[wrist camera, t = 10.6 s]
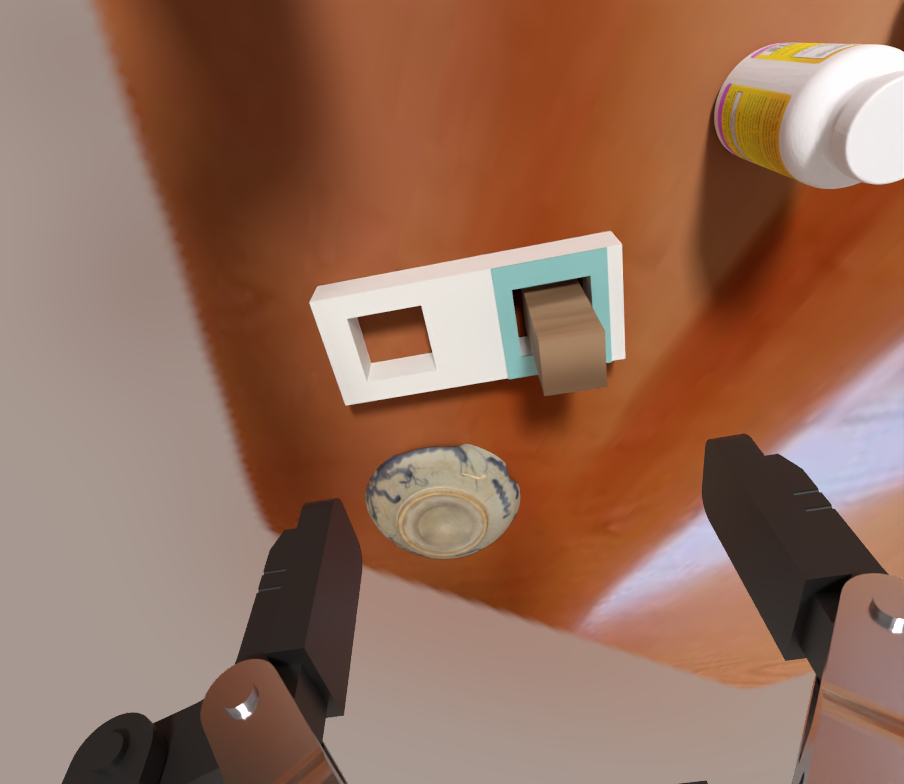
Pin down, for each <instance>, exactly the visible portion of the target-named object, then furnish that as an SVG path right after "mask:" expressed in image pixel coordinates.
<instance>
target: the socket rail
mask: <svg viewBox="0 0 904 784" xmlns="http://www.w3.org/2000/svg"><path fill="white" fill-rule="evenodd" d="M580 277H582V280H583V291H584V293H585V295H586V296H587V298H588V300H589V302H590V304H591V306H592V308H593V309H594V311H595V313H596V315H597V317H598V319H599V321H600V322H601V324H602V326H603V328H604V330H605V340H606V363H610V362H612V361H613V360H619V359H625V333H624V298H623V264H622V244H621V242H620V241H619V240H618V239H617V238H616V236H615V235H614V234H613V233H612V232H611V231H608V232H602V233H597V234H592V235H586V236H581V237H576V238H570V239H565V240H560V241H555V242H549V243H544V244H539V245H533V246H528V247H523V248H518V249H512V250H507V251H502V252H496V253H491V254H486V255H480V256H475V257H470V258H465V259H459V260H454V261H449V262H443V263H438V264H433V265H427V266H422V267H417V268H412V269H406V270H401V271H396V272H390V273H385V274H380V275H375V276H369V277H364V278H359V279H353V280H348V281H343V282H337V283H332V284H327V285H322V286H317V288H316V290H315V292H314V294H313V296H312V298H311V300H310V302H309V303H310V306H311V309H312V312H313V314H314V317H315V320H316V323H317V326H318V329H319V331H320V334H321V337H322V340H323V343H324V346H325V349H326V351H327V354H328V357H329V360H330V363H331V366H332V368H333V371H334V374H335V377H336V380H337V383H338V385H339V388H340V391H341V394H342V397H343V400H344V402H345V405H352V404H358V403H364V402H370V401H376V400H382V399H388V398H394V397H400V396H405V395H411V394H417V393H423V392H429V391H435V390H441V389H447V388H453V387H459V386H465V385H471V384H477V383H483V382H489V381H495V380H501V379H506V378H508V379H515V378H521V377H527V376H533V375H538V372H537V368H536V364H535V361H534V357H533V354H532V350H531V346H530V343H529V339H528V336H525V337H518V330H517V323H516V316H515V309H514V302H513V295H512V290H514V289H520V288H525V287H531V286H536V285H542V284H547V283H553V282H558V281H564V280H569V279H575V278H580ZM420 305H421V306H422V311H423V315H424V319H425V323H426V327H427V332H428V336H429V340H430V344H431V348H432V353H427V354H422V355H416V356H410V357H404V358H399V359H393V360H387V361H381V362H376V363H371V361H370V357H369V354H368V351H367V348H366V344H365V341H364V338H363V335H362V331H361V328H360V325H359V322H358V318H357V317H360V316H365V315H371V314H376V313H382V312H387V311H393V310H398V309H404V308H409V307H415V306H420Z"/></svg>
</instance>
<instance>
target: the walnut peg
mask: <svg viewBox="0 0 904 784" xmlns="http://www.w3.org/2000/svg"><path fill="white" fill-rule="evenodd" d="M521 294H522V303H523V311H524V320H525V328H526V332H527V335H528V339H529V343H530V346H531V350H532V354H533V357H534V361H535V364H536V368H537V372H538V375H539V379H540V383H541V386H542V390H543V394H544V396H549V395H556V394H563V393H569V392H576V391H583V390H589V389H596V388H603V387H607V373H606V340H605V330H604V328H603V326H602V324H601V322H600V321H599V319H598V317H597V315H596V313H595V311H594V309H593V308H592V306H591V304H590V302H589V300H588V298H587V296H586V295H585V293H584V291H583V289H582V287H581V285H580V283H579V282H578V280H577V278H575V279H569V280H564V281H558V282H553V283H547V284H542V285H536V286H531V287H525V288H521Z"/></svg>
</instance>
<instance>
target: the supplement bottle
mask: <svg viewBox="0 0 904 784" xmlns="http://www.w3.org/2000/svg"><path fill="white" fill-rule="evenodd" d="M714 123H715V129H716V133H717V135H718V138H719V140H720V141H721V143H722V144H723V146H724V147H725V148H726V149H727V150H728V151H729V152H731V153H732V154H734V155H736V156H738V157H740V158H742V159H745V160H747V161H749V162H752V163H754V164H757V165H759V166H762V167H764V168H767V169H769V170H772V171H774V172H777V173H779V174H782V175H784V176H787V177H789V178H792V179H794V180H796V181H799V182H801V183H804V184H807V185H810V186H813V187H816V188H823V189H836V188H843V187H848V186H852V185H855V184H857V183H860V182H864V183H869V184H887V183H892V182H895V181H898V180H901V179H903V178H904V52H903V51H901V50H900V49H897V48H894V47H891V46H886V45H874V44H828V43H777V44H772V45H769V46H766V47H763V48H761V49H759V50H757V51H755V52H753V53H752V54H750V55H748V56H747V57H746V58H744V59H743V60H742V61H741V62H740V63H739V64H738V65H737V66H736V67H735V68H734V69H733V70H732V71H731V73H730V74H729V76H728V77H727V78H726V80H725V82H724V83H723V85H722V87H721V89H720V92H719V94H718V97H717V100H716V105H715V111H714Z"/></svg>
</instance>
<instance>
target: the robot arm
mask: <svg viewBox="0 0 904 784" xmlns="http://www.w3.org/2000/svg"><path fill="white" fill-rule="evenodd" d="M702 499H703V504H704V508H705V512H706V514H707V517H708V519H709V521H710V523H711V525H712V527H713V529H714V530H715V532H716V534H717V536H718V538H719V540H720V541H721V543H722V545H723V547H724V549H725V551H726V552H727V554H728V556H729V558H730V560H731V562H732V563H733V565H734V567H735V569H736V571H737V573H738V574H739V576H740V578H741V580H742V582H743V584H744V585H745V587H746V589H747V591H748V593H749V595H750V597H751V598H752V600H753V602H754V604H755V606H756V608H757V609H758V611H759V613H760V615H761V617H762V619H763V620H764V622H765V624H766V626H767V628H768V630H769V631H770V633H771V635H772V637H773V639H774V641H775V642H776V644H777V646H778V648H779V650H780V652H781V653H782V655H783V657H784V659H785V661H787V660H795V659H803V658H807V659H808V661H809V663H810V665H811V666H812V668H813V670H814V671H815V673H816V675H815V678H814V682H813V687H812V691H811V696H810V701H809V706H808V710H807V715H806V720H805V725H804V729H803V734H802V739H801V743H800V749H799V753H798V758H797V763H796V767H795V772H794V776H793V780H792V784H904V579H901V578H898V577H895V576H891V575H889V574H888V573H887V572H886V571H885V570H884V569H883V568H882V567H881V565H880V564H879V563H878V562H877V560H876V559H875V558H874V557H873V556H872V554H871V553H870V552H869V551H868V549H867V548H866V547H865V546H864V544H863V543H862V542H861V541H860V539H859V538H858V537H857V536H856V535H855V533H854V532H853V531H852V530H851V528H850V527H849V526H848V525H847V523H846V522H845V521H844V520H843V518H842V517H841V516H840V515H839V514H838V512H837V511H836V510H835V509H832V507H831V504H830V502H829V501H828V500H827V499H826V497H825V496H824V495H823V494H822V493H819V491H818V488H817V486H816V485H815V484H814V483H813V481H812V480H811V479H810V478H809V477H808V475H807V474H806V473H805V472H804V470H803V469H802V468H800V467H798V466H797V465H795V464H794V463H792V462H791V461H789V460H787V459H786V458H784V457H783V456H781V455H779V454H774V455H767V456H764V454H763V453H762V452H761V450H760V449H759V448H758V446H757V445H756V444H755V442H754V441H753V440H752V438H751V437H750V436H749V435H747V434H739V435H733V436H727V437H721V438H715V439H709V440H708V441H707V442H706V446H705V457H704V470H703V482H702ZM361 575H362V554H361V549H360V545H359V542H358V539H357V537H356V534H355V532H354V530H353V527H352V525H351V522H350V520H349V518H348V515H347V513H346V510H345V508H344V506H343V503H342V502H341V500H340V499H339V498H334V499H328V500H322V501H316V502H310V503H305V504H304V506H303V508H302V511H301V515H300V518H299V522H298V526H297V528H296V529H289V530H284V532H283V533H282V534H281V536H280V537H279V538H278V540H277V541H276V543H275V544H274V545H273V547H272V548H271V550H270V552H269V555H268V558H267V562H266V565H265V568H264V575H263V576H262V578H261V581H260V585H259V588H258V589H259V593H257V594H256V598H255V602H254V604H253V608H252V611H251V615H250V618H249V621H248V624H247V628H246V631H245V634H244V637H243V641H242V644H241V647H240V651H239V654H238V658H237V660H236V662H235V665H233V666H232V667H230V668H228V669H227V670H226V671H225V672H224V673H222V674H221V675H220V676H219V677H218V678H217V679H216V680H215V681H214V683H213V684H212V685H211V686H210V688H209V690H208V691H207V693H206V695H205V698H204V699H203V700H201V701H200V702H198V703H196V704H194V705H192V706H190V707H188V708H186V709H183V710H181V711H179V712H177V713H175V714H173V715H170V716H168V717H166V718H164V719H162V720H160V721H158V722H155V723H152V722H151V721H150V720H149V719H148V718H147V717H146V716H144V715H142V714H139V713H126V714H122V715H119V716H116V717H114V718H112V719H110V720H109V721H107V722H105V723H104V724H102V725H101V726H100V727H98V728H97V729H96V730H95V731H94V732H93V733H92V734H91V735H90V736H89V737H88V738H87V739H86V740H85V741H84V743H83V744H82V745H81V746H80V748H79V749H78V751H77V752H76V754H75V755H74V757H73V760H72V761H71V763H70V766H69V768H68V770H67V773H66V775H65V777H64V780H63V782H62V784H348V783H347V781H346V779H345V777H344V776H343V774H342V772H341V771H340V769H339V767H338V766H337V764H336V762H335V760H334V759H333V757H332V755H331V754H330V752H329V750H328V748H327V747H326V745H325V743H324V742H323V740H322V739H323V733H324V726H325V719H326V718H328V717H335V716H343V715H344V710H345V701H346V693H347V686H348V678H349V670H350V662H351V654H352V646H353V638H354V631H355V623H356V614H357V606H358V598H359V591H360V583H361ZM681 784H708V783H707V781H699V782H690V783H681Z"/></svg>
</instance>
